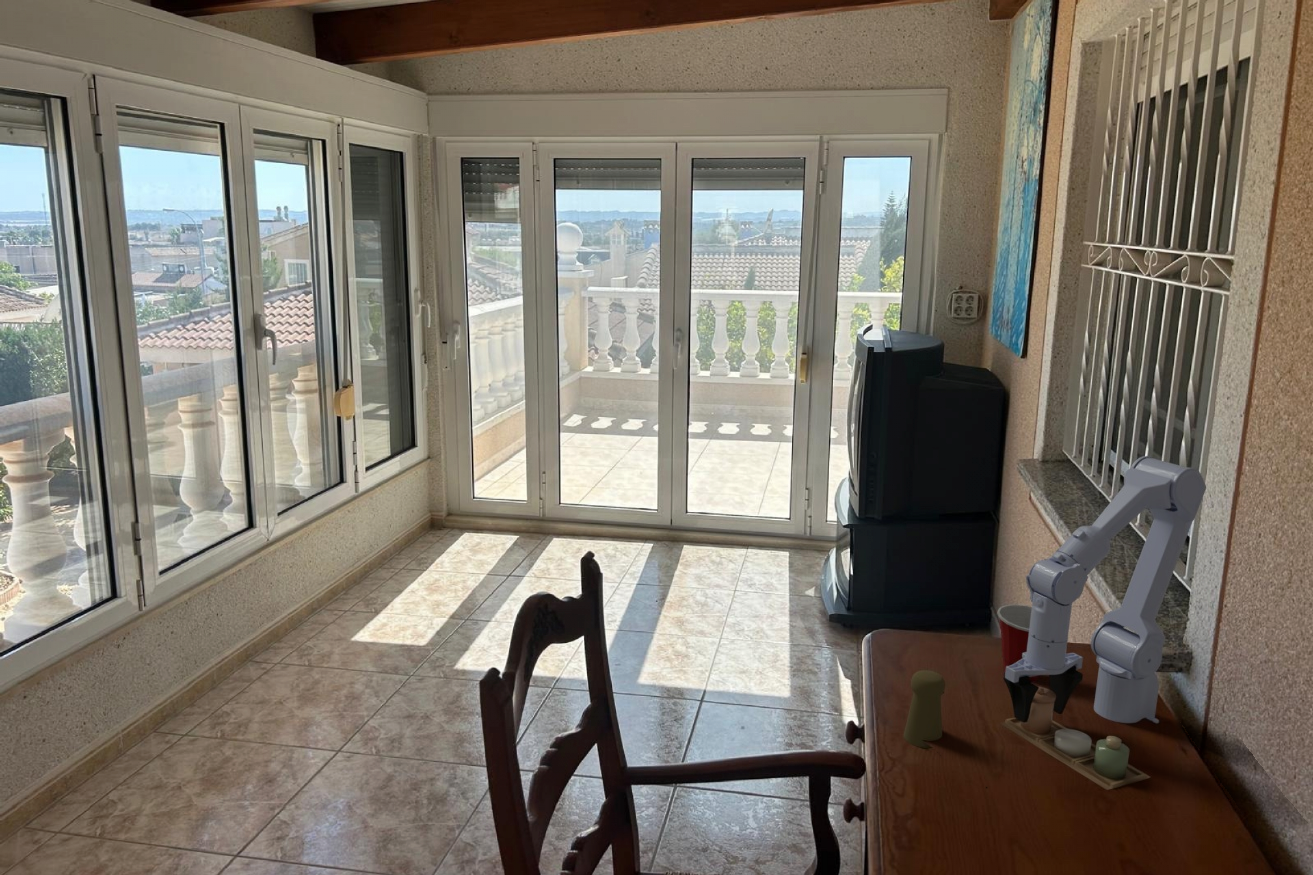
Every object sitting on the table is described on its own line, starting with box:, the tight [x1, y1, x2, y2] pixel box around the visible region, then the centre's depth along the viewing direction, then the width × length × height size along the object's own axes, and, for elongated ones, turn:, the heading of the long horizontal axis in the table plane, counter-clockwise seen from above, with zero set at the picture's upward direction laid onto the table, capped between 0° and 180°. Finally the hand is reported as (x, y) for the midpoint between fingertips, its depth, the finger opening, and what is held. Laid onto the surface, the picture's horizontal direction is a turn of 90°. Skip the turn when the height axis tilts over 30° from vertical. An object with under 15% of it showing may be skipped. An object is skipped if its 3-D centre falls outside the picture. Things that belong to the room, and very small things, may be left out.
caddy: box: [999, 716, 1152, 791], centre depth 152 cm, size 9×21×2 cm, turn 25°
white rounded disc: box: [1054, 728, 1093, 758], centre depth 152 cm, size 5×5×2 cm
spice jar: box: [1021, 685, 1056, 734], centre depth 158 cm, size 5×5×7 cm
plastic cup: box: [996, 604, 1040, 683], centre depth 178 cm, size 11×11×12 cm
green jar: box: [1093, 735, 1130, 780], centre depth 145 cm, size 4×4×5 cm
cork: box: [903, 669, 946, 749], centre depth 155 cm, size 6×6×11 cm
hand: (1038, 715), depth 158 cm, fingers open, 7 cm apart
